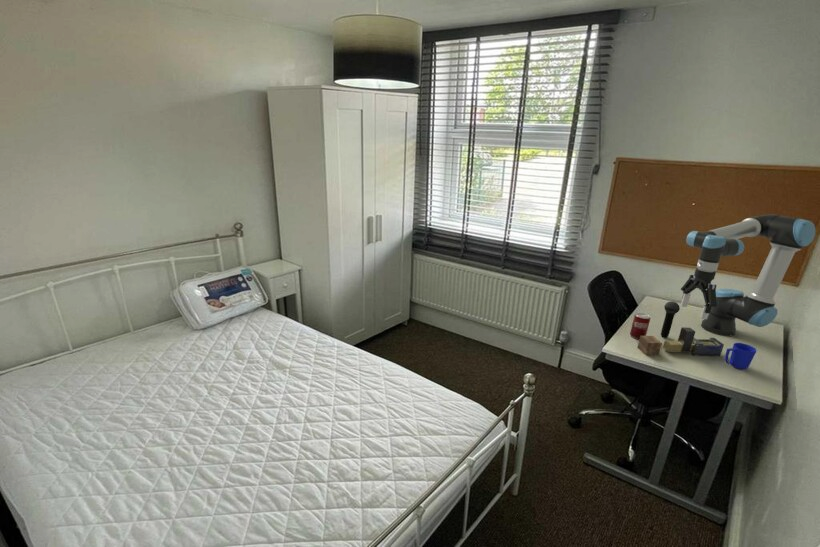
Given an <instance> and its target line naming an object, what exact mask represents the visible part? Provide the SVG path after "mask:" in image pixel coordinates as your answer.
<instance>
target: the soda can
mask: <svg viewBox="0 0 820 547" xmlns="http://www.w3.org/2000/svg"><path fill="white" fill-rule="evenodd" d="M650 323H651V316H650V315H648V314H647V313H643V312H637V313H634V316H633V318H632V325H631V328H630V331H629V335H630V336H631V337H632V338H633V339H637V340H639V339H640V336H647V334H648V330H649V327H650Z"/></svg>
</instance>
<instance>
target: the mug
mask: <svg viewBox="0 0 820 547" xmlns="http://www.w3.org/2000/svg"><path fill="white" fill-rule="evenodd" d="M725 351H726V352H725V356H724V361H725V363H726V364H728V365H730V366H732V367H734V368H735V369H739V370H747V369H748V368H750V365H751V364H752V361H753V359H754V357H755V356H756V355H755V354H756V353H757V349H756V347H754V346H752V345H749V344H746V343H742V342H735V343H733V346H732V347H730V348H726V350H725ZM729 355H730V356H729ZM729 357H730V359H729Z"/></svg>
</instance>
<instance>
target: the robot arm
mask: <svg viewBox="0 0 820 547" xmlns="http://www.w3.org/2000/svg"><path fill="white" fill-rule="evenodd" d="M815 234H816V226H815V224H814V223H813V222H812V221H811V220H807V219H803V218H797V217H790V216H785V215H780V214H762V215H755V216H751V217H748V218H745V219H743V220H742V221H740V222H737V223H733V224H729V225H726V226H722V227H718V228H715V229H710V230H706V231H699V230H698V231H697V230H692V231H690V232H689V233H688V235H687V236H686V241H685V242H686V244H687V245H688V246H690V247H692V248H697V249H701V250H700V254H699V257H698V260H697V265H696V268H695V270H694V274H690V275H689V277H688V279H687V280H686V282H685V283H684V284H683V285H682V286H681V288H680V290H681V291H682V297H681V298H682V300H681V303H680V307H681V308H687V307H688V305H689V301H690V298H691V293H692V292H693V291H694V290H696V289H698V290H700V291H701V293H702V296H703V299H704V303H705V304H704V305H703V308H702V311H701V314H700V316H699V317H700V318H699V319H700V320H702V321H701V323H700V327H701V328H702V329H704V330H706V331H707V332H710V333H712V334H715V335H719V336H726V337H729V336H730V335H732V336H734V335H735V334H736V332H737V327H736V320H737V319H738V320H740V321H743V322H744V323H747V324H749V325H751V326H755V327H758V328H764V327H766V326H767V325H769V324H771V323H772V322H773V321H774V320H775V318H777V315H778V309H777V307H775V305H776V301H775V299H774V298H775V296H776V293H777V291H778V289H779V288H780V285H781V283H782V281H783V279H784V276H785V274H786V273H787V271H788V268H789V266H790V264H791V261H792V260H793V257H794V255H795V253H796V252H798V251H801V250H802V249H803V247H808V246H809V245H810V244H811V243H812V242H813V241H814V239H815V236H816V235H815ZM746 237H748V238H754V237H761V238H767V239H769V240H770V241H769V245H771V247H770V251H769V253H768V254H767V255H768V256H767V257H766V259H765V262H764V264H763V266H762V267H761V270H760V273H759V275H758V277H757V280H756V282H755V284H754V286H753V287H752V290H751V292H749V293H746V294H745V293H744V292H743V291H741V290H739V289H732V288H718V289H717V284H712V282H713V280H715V277H716V274H717V271H718V268H719V264H720V261H721V258H723V257H735V256H739V255H741V254H742V253H743V252H744V250H745V244H744V242H743V241H742V240H740V239H743V238H746Z"/></svg>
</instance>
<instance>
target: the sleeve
mask: <svg viewBox="0 0 820 547" xmlns="http://www.w3.org/2000/svg"><path fill="white" fill-rule="evenodd" d="M700 341H707V342H714V343H715V344H717V345H703V343H701V342H700ZM693 342H694V343H695V344H697V345H695V347H694V350H693V352H688V353H689V354H690V355H692V356H694V357H695V356H696V357H721V354H722V352H723V349H724V346H725V344H724V343H722V341H720V340H718V339H717V338H715V337H709V338H708V339H705V338H703V339H701V338H695V337H694V338H693Z"/></svg>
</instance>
